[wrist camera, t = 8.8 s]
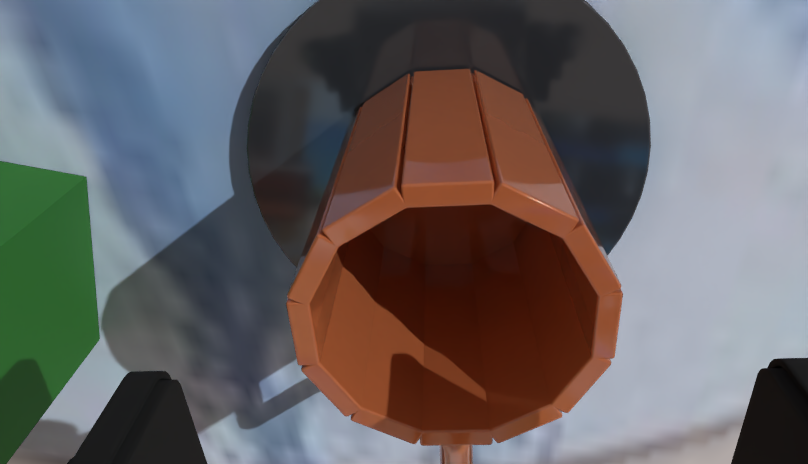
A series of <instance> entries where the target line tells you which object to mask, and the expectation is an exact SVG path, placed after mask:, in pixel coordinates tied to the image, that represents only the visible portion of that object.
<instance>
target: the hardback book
mask: <svg viewBox="0 0 808 464" xmlns="http://www.w3.org/2000/svg"><path fill="white" fill-rule="evenodd" d="M99 339H100V337H99V325H98V313H97V301H96V288H95V276H94V264H93V252H92V240H91V228H90V216H89V204H88V192H87V180H86V177H84V176H79V175H73V174H68V173H62V172H57V171H51V170H46V169H40V168H35V167H29V166H24V165H18V164H13V163H7V162H2V161H0V464H7V462H8V461H9V460H10V458H11V457H12V456H13V454H14V453H15V452H16V450H17V449H18V448H19V446H20V445H21V444H22V442H23V441H24V440H25V438H26V437H27V436H28V434H29V433H30V432H31V430H32V429H33V428H34V426H35V425H36V424H37V422H38V421H39V420H40V418H41V417H42V416H43V414H44V413H45V412H46V410H47V409H48V408H49V406H50V405H51V404H52V402H53V401H54V399H55V398H56V397H57V395H58V394H59V393H60V391H61V390H62V389H63V387H64V386H65V385H66V383H67V382H68V381H69V379H70V378H71V377H72V375H73V374H74V373H75V371H76V370H77V369H78V367H79V366H80V365H81V363H82V362H83V361H84V359H85V358H86V357H87V355H88V354H89V353H90V351H91V350H92V349H93V347H94V346H95V345H96V343H97V342H98V341H99Z"/></svg>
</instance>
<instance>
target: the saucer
mask: <svg viewBox="0 0 808 464" xmlns="http://www.w3.org/2000/svg"><path fill="white" fill-rule="evenodd" d="M454 69H470V70H471V73H473V71H475V70H477V71H479V72H481V73H483V74H485V75H486V76H488V77H490V78H492V79H494V80H496V81H498V82H500V83H502V84H504V85H506V86H508V87H510V88H512V89H514V90H515V91H517V92H519V93H521V94H523V95H524V98H525V99H528V100H529V102H530V104H531V105H532V107H533V109H534V110H535V112H536V114H537V116H538V117H539V119H540V121H541V123H542V124H543V126H544V128H545V129H546V131H547V133H548V135H549V136H550V138H551V140H552V142H553V144H554V146H555V148H556V150H557V152H558V154H559V156H560V158H561V160H562V162H563V165H564V167H565V169H566V171H567V173H568V175H569V177H570V179H571V181H572V183H573V185H574V187H575V190H576V192H577V194H578V196H579V198H580V200H581V202H582V204H583V206H584V208H585V210H586V213H587V215H588V217H589V219H590V221H591V223H592V225H593V227H594V229H595V231H596V233H597V236H598V238H599V240H600V242H601V244H602V246H603V248H604V250H605V252H606V254H607V255H608V254H609V253H610V251H611V250H612V249H613V247H614V246H615V245H616V243H617V242H618V241H619V240H620V238H621V236H622V235H623V233H624V231H625V229H626V228H627V226H628V224H629V222H630V221H631V219H632V217H633V215H634V212H635V210H636V207H637V205H638V202H639V200H640V198H641V195H642V191H643V187H644V184H645V180H646V176H647V172H648V165H649V156H650V148H651V138H650V118H649V112H648V106H647V101H646V95H645V92H644V89H643V86H642V83H641V80H640V77H639V74H638V71H637V69H636V67H635V65H634V63H633V61H632V59H631V57H630V55H629V53H628V52H627V50H626V48H625V46H624V44H623V43H622V42H621V40H620V39H619V37H618V36H617V35H616V33H615V32H614V31H613V29H612V28H611V27H610V25H609V24H608V23H607V22H606V21H605V20H604V19H603V18H602V17H601V16H600V15H599V14H598V13H597V12H596V11H595V9H594V8H593V7H592V6H591V5H590V4H589V3H587V2H586V1H585V0H318V1H317V2H315V3H314V4H313V5H312V6H311V7H310V8H309V9H308V10H307V11H306V12H305V13H304V14H303V15H302V16H301V17H300V18H299V19H298V20H297V21H296V22H295V23H294V24H293V25H292V27H291V28H290V29H289V30H288V32H287V33H286V34H285V36H284V37H283V39H282V40H281V41H280V43H279V44H278V45H277V47H276V48H275V50H274V51H273V53H272V55H271V57H270V59H269V61H268V63H267V65H266V67H265V69H264V71H263V72H262V74H261V77H260V80H259V83H258V86H257V89H256V92H255V95H254V97H253V101H252V107H251V112H250V117H249V122H248V137H247V155H248V166H249V174H250V179H251V183H252V187H253V192H254V196H255V198H256V201H257V204H258V206H259V209H260V212H261V214H262V217H263V219H264V221H265V223H266V225H267V227H268V229H269V230H270V232H271V234H272V236H273V238H274V239H275V241H276V242H277V244H278V245H279V246H280V248H281V249H282V251H283V252H284V253H285V255H286V256H287V257H288V259H289V260H290V261H291V262H292V263H293V264H294V265H295V266H296V267H297V266H298V263H299V261H300V258H301V255H302V252H303V250H304V247H305V244H306V241H307V239H308V236H309V233H310V230H311V228H312V225H313V222H314V219H315V217H316V214H317V211H318V208H319V205H320V203H321V200H322V197H323V194H324V192H325V189H326V186H327V183H328V181H329V178H330V175H331V172H332V170H333V167H334V164H335V161H336V159H337V156H338V153H339V150H340V148H341V146H342V144H343V142H344V140H345V138H346V136H347V133H348V131H349V129H350V127H351V125H352V123H353V121H354V119H355V116H356V114H357V112H358V110H359V108H360V107H362V106H363V103H364V102H366V101H367V100H369V99H370V98H372V97H373V96H375V95H376V94H378V93H379V92H381V91H382V90H384V89H385V88H387V87H389V86H390V85H392V84H393V83H395V82H396V81H398V80H399V79H401V78H402V77H404V76H405V75H407V74H410V75H411V76H413V73H414V72H418V71H436V70H454Z"/></svg>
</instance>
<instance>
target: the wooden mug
mask: <svg viewBox="0 0 808 464" xmlns="http://www.w3.org/2000/svg"><path fill="white" fill-rule="evenodd" d="M620 288H621V284H620V281H619V279H618V277H617V275H616V273H615V271H614V269H613V267H612V265H611V263H610V261H609V258H608V256H607V254H606V252H605V250H604V248H603V246H602V244H601V242H600V240H599V238H598V236H597V233H596V231H595V229H594V227H593V225H592V223H591V221H590V219H589V217H588V215H587V213H586V210H585V208H584V206H583V204H582V202H581V200H580V198H579V196H578V194H577V192H576V190H575V187H574V185H573V183H572V181H571V179H570V177H569V175H568V173H567V171H566V169H565V167H564V165H563V162H562V160H561V158H560V156H559V154H558V152H557V150H556V148H555V146H554V144H553V142H552V140H551V138H550V136H549V135H548V133H547V131H546V129H545V128H544V126H543V124H542V123H541V121H540V119H539V117H538V116H537V114H536V112H535V110H534V109H533V107H532V105H531V104H530V102H529V100H528V99H525V98H524V95H523V94H521V93H519V92H517V91H515V90H514V89H512V88H510V87H508V86H506V85H504V84H502V83H500V82H498V81H496V80H494V79H492V78H490V77H488V76H486V75H485V74H483V73H481V72H479V71H477V70H475V71H473V73H471V70H470V69H454V70H436V71H418V72H414V73H413V76H411V75H410V74H407V75H405V76H404V77H402V78H401V79H399V80H398V81H396V82H395V83H393V84H392V85H390V86H389V87H387V88H385V89H384V90H382V91H381V92H379V93H378V94H376V95H375V96H373V97H372V98H370V99H369V100H367V101H366V102H364V103H363V106H362V107H360V108H359V110H358V112H357V114H356V116H355V119H354V121H353V123H352V125H351V127H350V129H349V131H348V133H347V136H346V138H345V140H344V142H343V144H342V146H341V148H340V150H339V153H338V156H337V159H336V161H335V164H334V167H333V170H332V172H331V175H330V178H329V181H328V183H327V186H326V189H325V192H324V194H323V197H322V200H321V203H320V205H319V208H318V211H317V214H316V217H315V219H314V222H313V225H312V228H311V230H310V233H309V236H308V239H307V241H306V244H305V247H304V250H303V252H302V255H301V258H300V261H299V263H298V266H297V269H296V272H295V274H294V277H293V280H292V283H291V286H290V288H289V291H288V294H287V298H288V300H287V302H286V307H287V312H288V317H289V322H290V327H291V332H292V337H293V342H294V347H295V352H296V357H297V362H298V365H302V368H301V370H302V372H303V373H304V374H305V375H306V376H307V377H308V378H309V379H310V380H311V381H312V382H313V383H314V384H315V385H316V387H317V388H318V389H319V390H320V391H321V392H322V393H323V394H324V395H325V396H326V397H327V398H328V399H329V400H330V401H331V402H332V403H333V404H334V405H335V406H336V407H337V408H338V409H339V410H340V412H341V413H342V414H343V415H344V416H349V415H351V420H352V421H354V422H357V423H359V424H362V425H364V426H367V427H370V428H372V429H375V430H378V431H380V432H383V433H386V434H388V435H391V436H393V437H396V438H399V439H401V440H404V441H407V442H409V443H412V444H416V443H417V441H418V440H419V439H420V444H421V445H423V446H430V445H439V448H440V464H473V446H472V445H491V444H492V441H493V438H494V440H495V441H496V442H497V443H501V442H503V441H505V440H508V439H510V438H513V437H515V436H518V435H520V434H522V433H525V432H527V431H530V430H532V429H534V428H537V427H539V426H542V425H544V424H547V423H549V422H551V421H554V420H556V419H559V418H561V417H562V411H563V412H565V413H568V412H569V411H570V410H571V409H572V408H573V407H574V406H575V404H576V403H577V402H578V401H579V400H580V399H581V398H582V396H583V395H584V394H585V393H586V392H587V391H588V390H589V389H590V387H591V386H592V385H593V384H594V383H595V382H596V381H597V380H598V378H599V377H600V376H601V375H602V374H603V373H604V372H605V371H606V369H607V368H608V367H609V366H610V365H611V360H610V359H612V358H614V356H615V350H616V342H617V335H618V327H619V320H620V312H621V305H622V298H623V293H622V291H621V289H620Z"/></svg>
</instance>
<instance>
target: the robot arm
mask: <svg viewBox="0 0 808 464" xmlns="http://www.w3.org/2000/svg"><path fill="white" fill-rule="evenodd" d="M67 464H207V462H206V459H205V456H204V453H203V450H202V447H201V444H200V441H199V438H198V435H197V432H196V429H195V426H194V423H193V420H192V417H191V414H190V411H189V408H188V405H187V402H186V399H185V396H184V393H183V390H182V387H181V385H180V383H179V381H178V380H172V379H171V377H170V375H169V374H168V373H167V372H166V371H143V372H130V373H128V374H127V375H126V376H125V377H124V378H123V380H122V381H121V383H120V385H119V386H118V388H117V389H116V391H115V393H114V394H113V396H112V397H111V399H110V401H109V402H108V404H107V405H106V407H105V408H104V410H103V412H102V413H101V415H100V416H99V418H98V420H97V421H96V423H95V424H94V426H93V428H92V429H91V431H90V432H89V434H88V435H87V437H86V439H85V440H84V442H83V443H82V445H81V447H80V448H79V450H78V451H77V453H76V454H75V456H74V457H73V458H72V459H70V461H69V462H68V463H67ZM731 464H808V358H786V359H774V360H772V361H771V362H770V364H769V366H768V368H764V369H761V370H760V371H759V373H758V375H757V378H756V382H755V385H754V388H753V392H752V395H751V398H750V402H749V405H748V409H747V412H746V415H745V419H744V422H743V425H742V429H741V432H740V436H739V439H738V442H737V446H736V449H735V452H734V456H733V459H732V463H731Z"/></svg>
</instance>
